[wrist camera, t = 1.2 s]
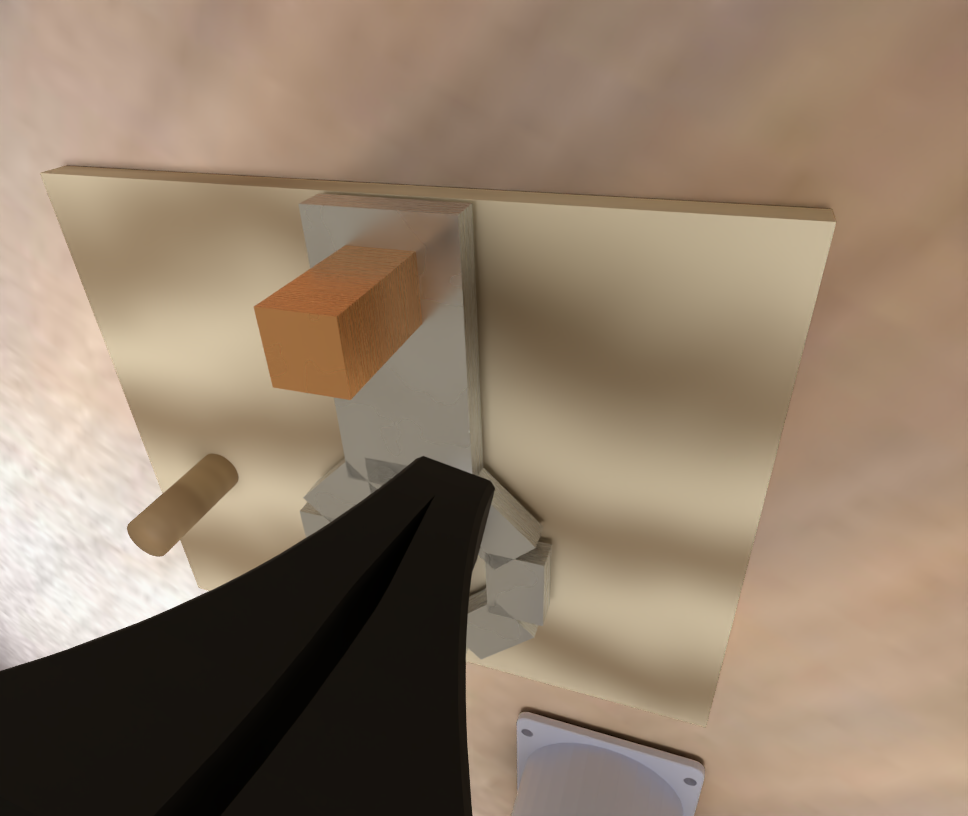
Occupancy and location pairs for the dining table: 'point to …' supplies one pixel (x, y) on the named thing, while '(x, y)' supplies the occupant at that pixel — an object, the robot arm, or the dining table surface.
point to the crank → (402, 378)
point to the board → (491, 391)
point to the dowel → (183, 505)
